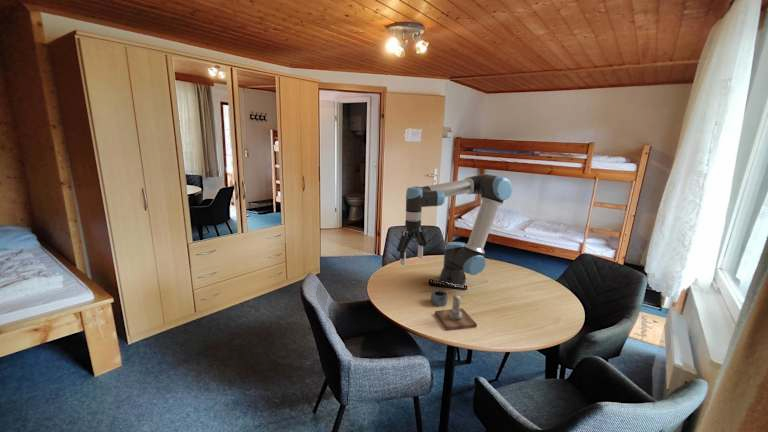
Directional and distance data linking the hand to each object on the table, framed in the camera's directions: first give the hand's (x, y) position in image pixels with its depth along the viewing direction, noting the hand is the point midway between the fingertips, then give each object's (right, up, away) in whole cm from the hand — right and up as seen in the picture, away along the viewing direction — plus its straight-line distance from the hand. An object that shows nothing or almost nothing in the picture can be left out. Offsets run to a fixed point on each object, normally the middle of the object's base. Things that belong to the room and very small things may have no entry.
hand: (411, 261), depth 163 cm
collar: (+14, -21, +3) cm, 26 cm away
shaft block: (+19, -25, -13) cm, 34 cm away
